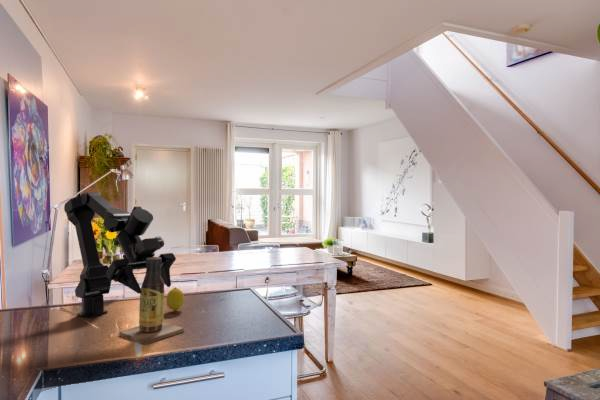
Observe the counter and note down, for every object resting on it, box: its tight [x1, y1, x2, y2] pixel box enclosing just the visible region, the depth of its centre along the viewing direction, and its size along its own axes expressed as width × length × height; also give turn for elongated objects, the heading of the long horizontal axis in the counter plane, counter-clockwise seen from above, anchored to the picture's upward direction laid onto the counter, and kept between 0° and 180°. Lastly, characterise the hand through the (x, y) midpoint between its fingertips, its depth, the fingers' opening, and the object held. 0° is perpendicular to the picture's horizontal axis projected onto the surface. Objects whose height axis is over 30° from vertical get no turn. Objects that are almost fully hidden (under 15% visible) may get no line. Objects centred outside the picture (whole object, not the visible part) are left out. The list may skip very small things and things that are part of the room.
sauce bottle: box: [138, 256, 165, 332], centre depth 104 cm, size 6×6×20 cm
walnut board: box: [118, 321, 185, 346], centre depth 103 cm, size 12×12×1 cm
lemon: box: [166, 287, 185, 312], centre depth 125 cm, size 6×6×8 cm
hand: (155, 289), depth 103 cm, fingers open, 9 cm apart
